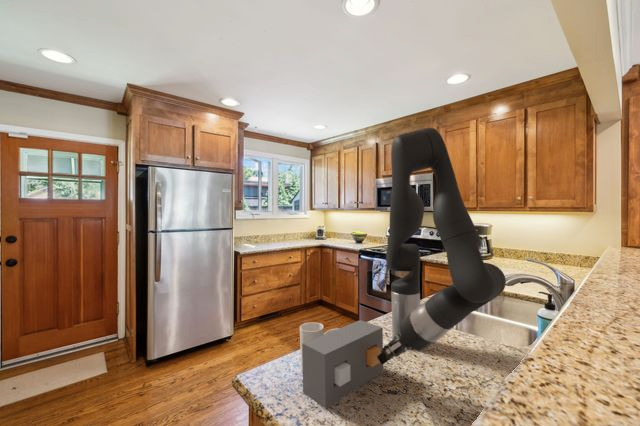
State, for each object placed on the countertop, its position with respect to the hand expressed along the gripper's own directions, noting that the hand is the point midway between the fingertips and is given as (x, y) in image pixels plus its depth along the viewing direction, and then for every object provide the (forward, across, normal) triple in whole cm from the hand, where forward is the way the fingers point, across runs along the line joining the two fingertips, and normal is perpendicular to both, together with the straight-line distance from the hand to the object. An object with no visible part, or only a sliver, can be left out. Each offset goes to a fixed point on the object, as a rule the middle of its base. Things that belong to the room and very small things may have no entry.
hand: (380, 359), depth 73 cm
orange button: (+3, 0, -1) cm, 3 cm away
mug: (+18, +8, -9) cm, 21 cm away
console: (+9, +6, -1) cm, 11 cm away
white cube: (+3, +12, -1) cm, 13 cm away
